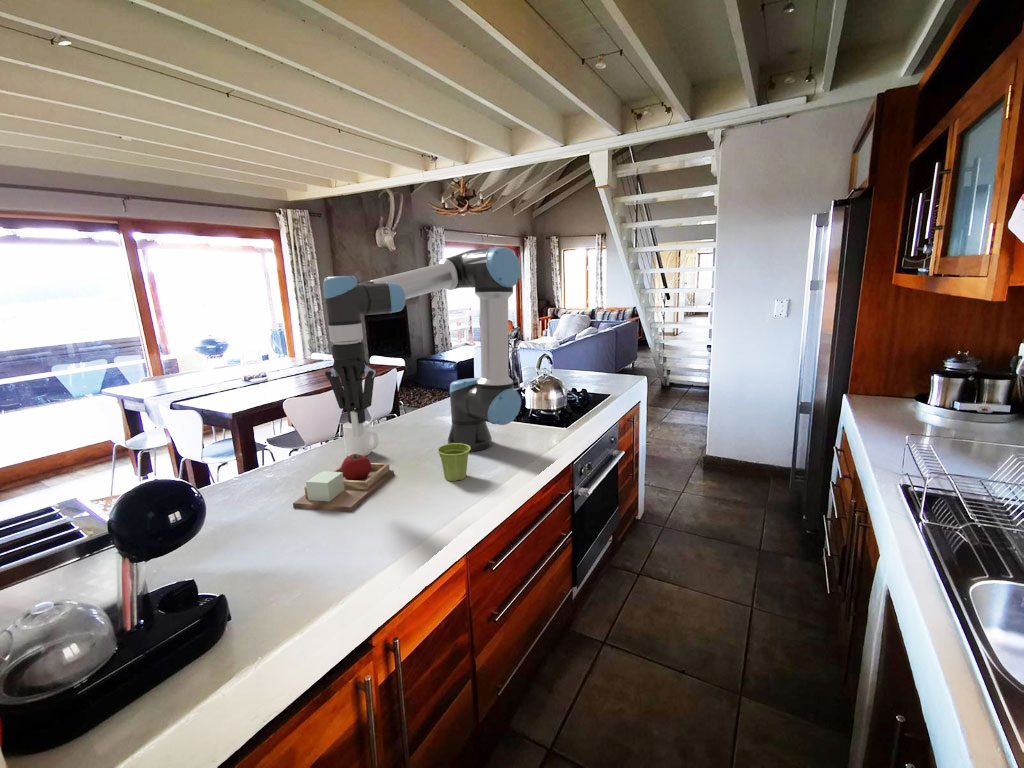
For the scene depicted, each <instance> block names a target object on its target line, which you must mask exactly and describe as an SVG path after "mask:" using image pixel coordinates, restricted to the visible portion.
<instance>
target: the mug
mask: <svg viewBox="0 0 1024 768" xmlns="http://www.w3.org/2000/svg"><path fill="white" fill-rule="evenodd" d="M363 427H364V434H363V435H362V436H360V437H353V430H352V423H349V421H348V422H345V423H344V424H343V425H342V430H343V433H342V434H343V442H344V451H345V455H346V457H348V456H350V455H352V454H359V455H362V456H366V457H367V456H369V455H370V454H371V453H372V451H373V450H376V449H377V447H378V445H379V437H378V434H377V432H376V431H375V430H373V429H372V428H370V422H369V421H367V420H365V422H364V423H363ZM371 436H372V437H373V441H374V442H373V444H372V441H371Z"/></svg>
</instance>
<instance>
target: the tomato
mask: <svg viewBox="0 0 1024 768" xmlns="http://www.w3.org/2000/svg"><path fill="white" fill-rule="evenodd" d="M371 463H372V462H371V460H370V459H369V457H367V455H366V456H362V455H359V454H352V455H350V456H346V458H344V459H343V461H342V463H341V465H340V466H341V472H343V476H344V477H345V479H346V480H354V481H355V480H361V479H364V478H365V477H367V476H368V474H369V473H370V471H371Z"/></svg>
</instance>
